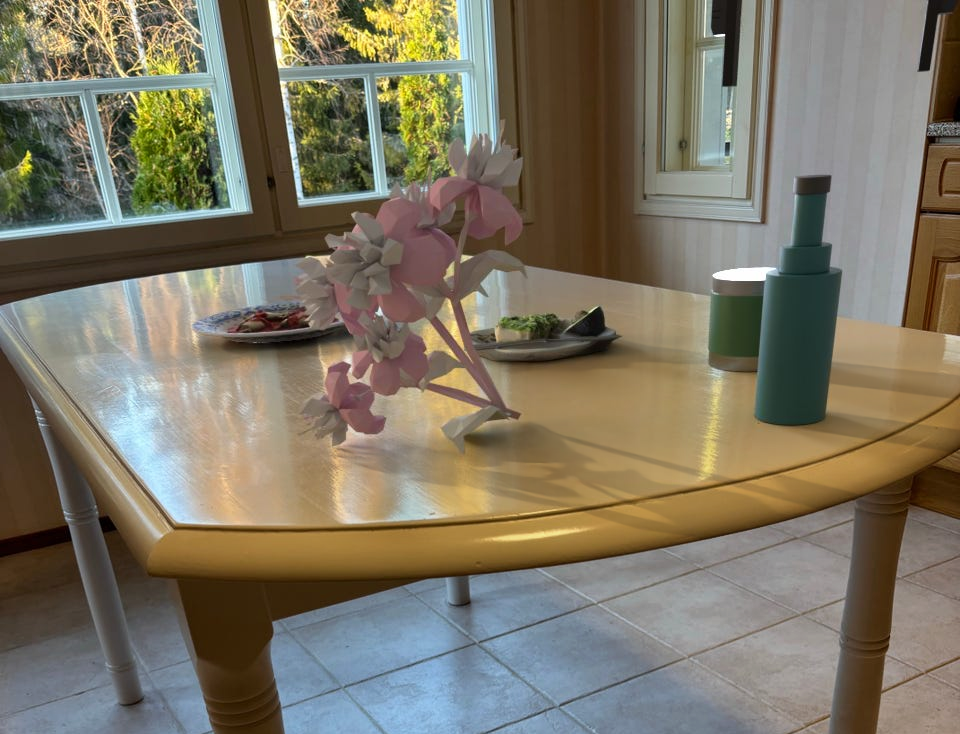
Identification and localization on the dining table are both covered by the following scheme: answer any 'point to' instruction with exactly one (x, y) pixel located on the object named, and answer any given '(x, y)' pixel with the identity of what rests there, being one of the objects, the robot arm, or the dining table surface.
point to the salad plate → (544, 337)
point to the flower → (411, 292)
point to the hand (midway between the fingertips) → (823, 79)
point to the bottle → (799, 316)
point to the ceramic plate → (263, 324)
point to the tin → (736, 319)
